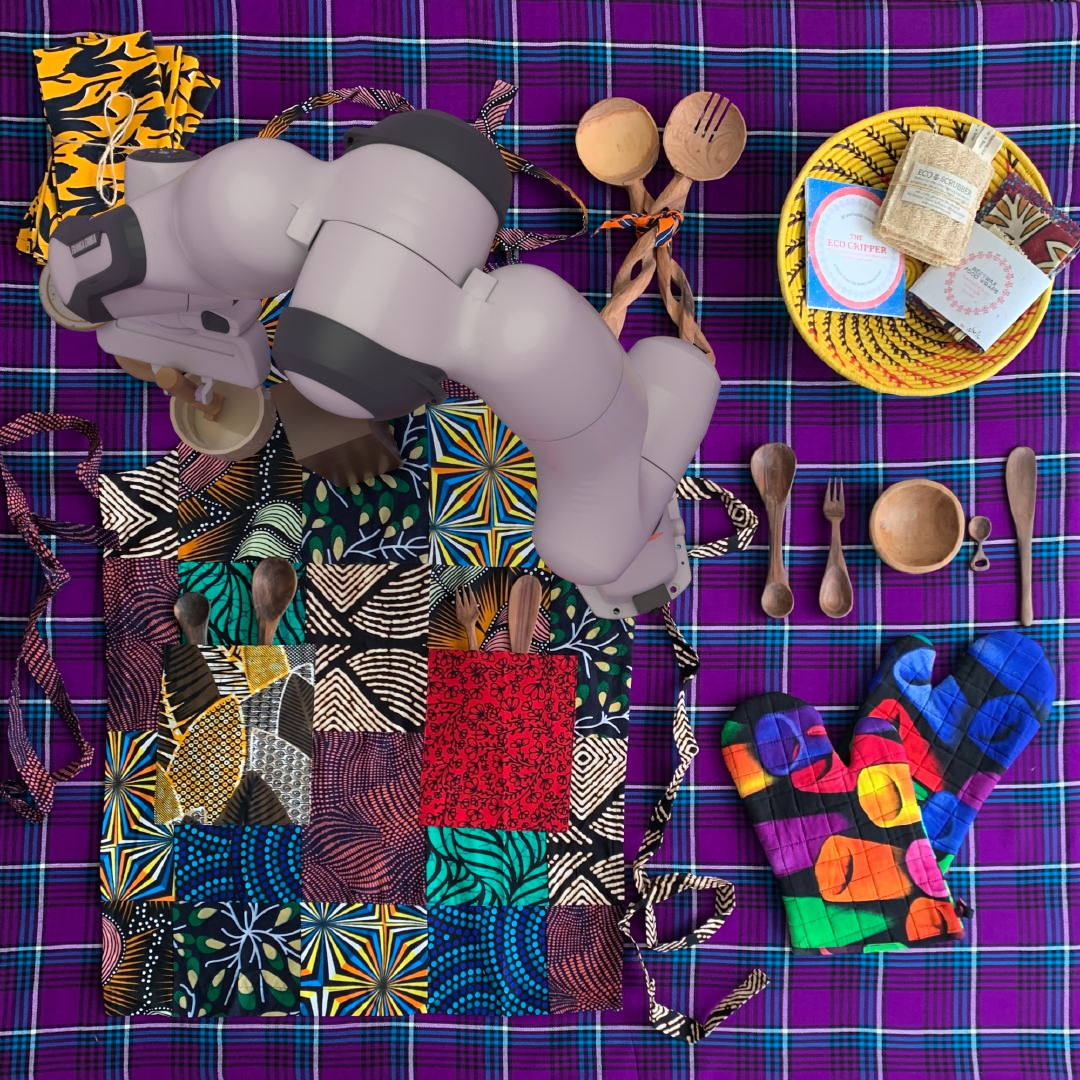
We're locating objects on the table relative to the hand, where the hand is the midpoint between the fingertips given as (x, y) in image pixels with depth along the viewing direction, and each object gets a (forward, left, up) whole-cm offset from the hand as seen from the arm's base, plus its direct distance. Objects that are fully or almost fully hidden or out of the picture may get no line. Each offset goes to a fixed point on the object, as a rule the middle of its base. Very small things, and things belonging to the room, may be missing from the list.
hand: (189, 397), depth 112 cm
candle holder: (+14, +5, -12) cm, 18 cm away
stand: (-10, -16, -11) cm, 23 cm away
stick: (+1, 0, -9) cm, 9 cm away
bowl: (0, -1, -11) cm, 11 cm away
